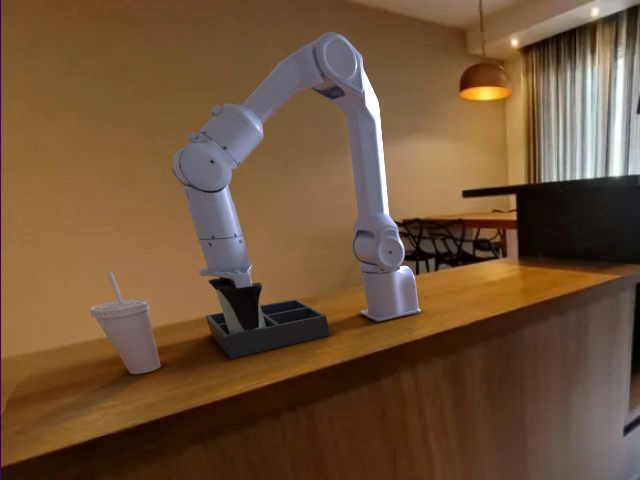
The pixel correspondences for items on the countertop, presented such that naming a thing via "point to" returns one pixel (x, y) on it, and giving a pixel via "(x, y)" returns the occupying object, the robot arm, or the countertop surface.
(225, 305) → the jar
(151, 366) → the smoothie
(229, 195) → the robot arm
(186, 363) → the countertop surface
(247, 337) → the tray
